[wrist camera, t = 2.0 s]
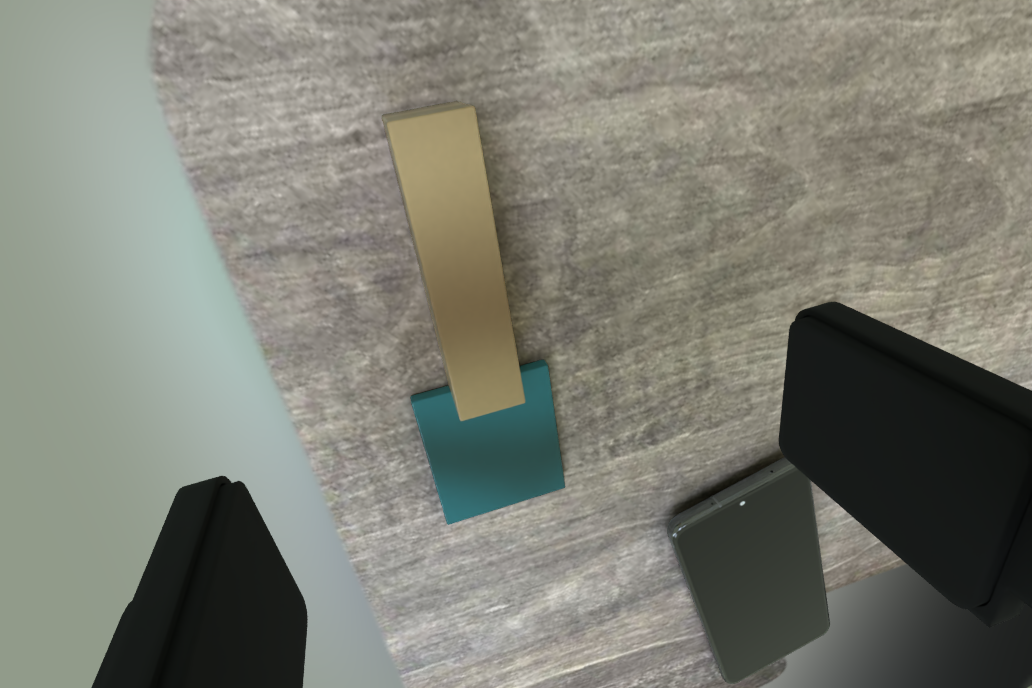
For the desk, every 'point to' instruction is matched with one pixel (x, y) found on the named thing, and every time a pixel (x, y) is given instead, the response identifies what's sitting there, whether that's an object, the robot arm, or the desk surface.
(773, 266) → the desk surface
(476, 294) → the spatula
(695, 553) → the smartphone
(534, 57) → the desk surface
